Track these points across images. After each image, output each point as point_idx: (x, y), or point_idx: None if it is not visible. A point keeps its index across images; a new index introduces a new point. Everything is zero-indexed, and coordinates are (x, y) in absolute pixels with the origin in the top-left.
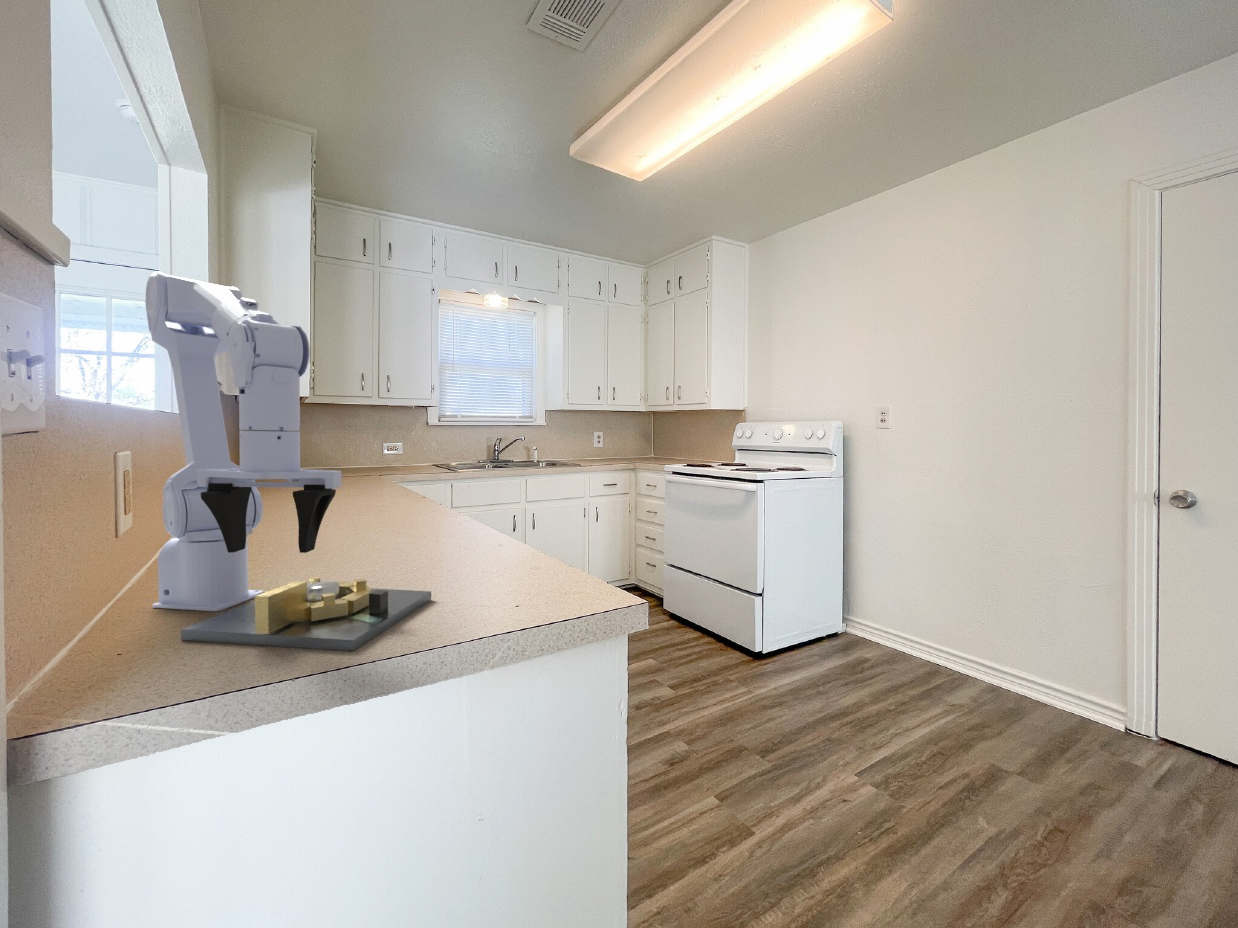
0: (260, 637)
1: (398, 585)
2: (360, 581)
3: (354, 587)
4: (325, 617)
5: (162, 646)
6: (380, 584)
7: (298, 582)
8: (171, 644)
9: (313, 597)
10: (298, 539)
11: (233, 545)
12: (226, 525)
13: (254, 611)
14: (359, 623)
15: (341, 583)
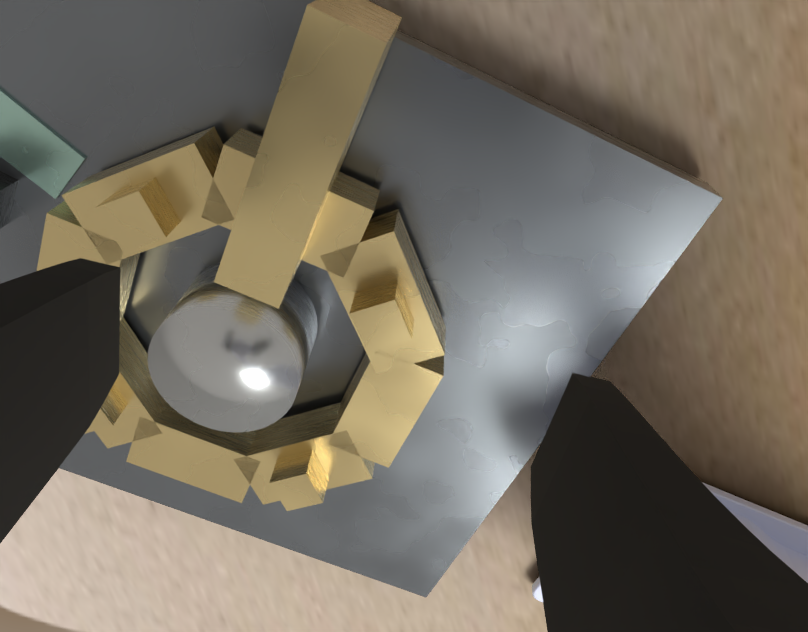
0: None
1: (117, 571)
2: None
3: (121, 397)
4: (164, 147)
5: (763, 149)
6: (182, 593)
7: (250, 275)
8: (735, 163)
9: (237, 292)
10: (62, 297)
11: (582, 401)
12: (666, 500)
13: (494, 344)
14: (9, 68)
15: (203, 469)
